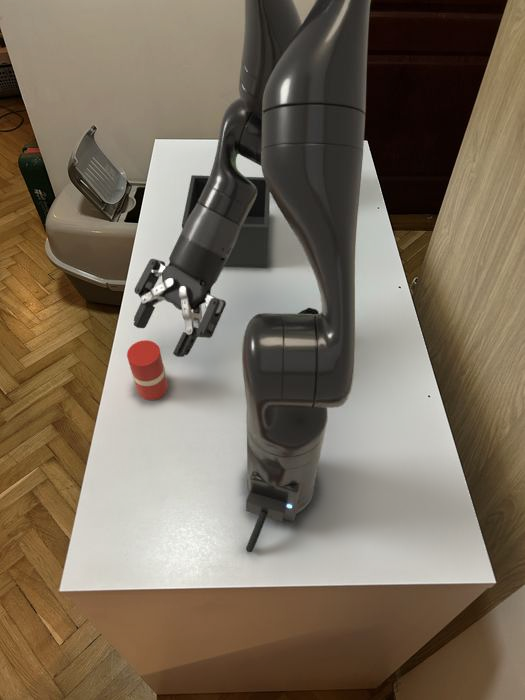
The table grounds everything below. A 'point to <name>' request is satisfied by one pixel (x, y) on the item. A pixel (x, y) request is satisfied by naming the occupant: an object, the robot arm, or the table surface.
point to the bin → (253, 231)
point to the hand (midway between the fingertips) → (158, 341)
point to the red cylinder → (147, 369)
